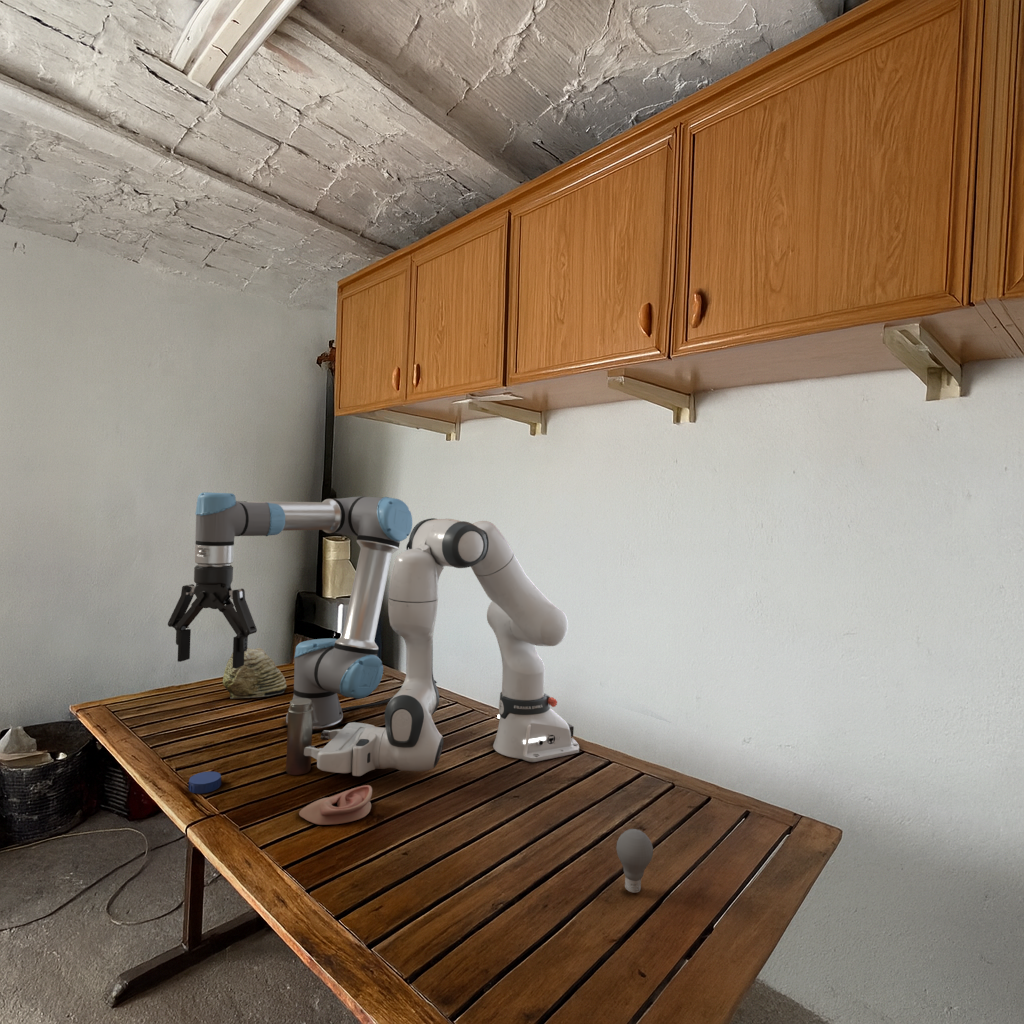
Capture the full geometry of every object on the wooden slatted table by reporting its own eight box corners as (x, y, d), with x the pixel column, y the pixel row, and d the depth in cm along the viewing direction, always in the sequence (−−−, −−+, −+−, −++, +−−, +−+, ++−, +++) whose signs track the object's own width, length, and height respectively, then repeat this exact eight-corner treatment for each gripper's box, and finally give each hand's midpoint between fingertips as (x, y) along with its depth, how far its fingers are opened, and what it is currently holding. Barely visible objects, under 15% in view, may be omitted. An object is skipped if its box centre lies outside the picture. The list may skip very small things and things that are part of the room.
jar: (302, 763, 150) (304, 696, 150) (315, 770, 147) (318, 701, 146) (281, 770, 146) (283, 701, 145) (294, 777, 142) (297, 706, 142)
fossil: (218, 695, 195) (220, 647, 195) (278, 685, 208) (279, 640, 207) (228, 703, 189) (230, 653, 188) (289, 692, 201) (290, 645, 201)
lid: (183, 786, 135) (183, 777, 135) (212, 777, 140) (213, 768, 140) (196, 796, 131) (196, 786, 131) (226, 787, 136) (226, 777, 136)
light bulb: (610, 879, 108) (613, 822, 108) (644, 879, 109) (647, 822, 109) (619, 902, 102) (622, 840, 102) (655, 901, 103) (658, 840, 103)
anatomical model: (291, 800, 123) (320, 775, 134) (290, 820, 123) (320, 794, 134) (354, 810, 120) (379, 784, 132) (353, 830, 121) (378, 803, 132)
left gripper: (151, 562, 135) (148, 661, 135) (254, 570, 129) (250, 674, 129) (177, 559, 142) (174, 653, 142) (276, 566, 136) (272, 665, 136)
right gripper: (386, 717, 155) (331, 713, 156) (357, 750, 135) (295, 745, 136) (385, 743, 155) (330, 739, 156) (356, 780, 135) (294, 774, 136)
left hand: (210, 663), depth 136 cm, fingers open, 13 cm apart
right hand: (313, 742), depth 146 cm, fingers open, 8 cm apart
